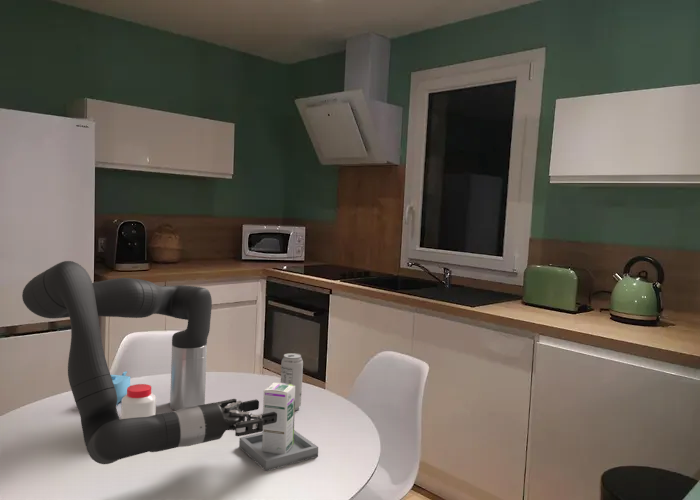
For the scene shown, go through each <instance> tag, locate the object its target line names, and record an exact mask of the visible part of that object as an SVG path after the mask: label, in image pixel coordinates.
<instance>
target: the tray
mask: <svg viewBox="0 0 700 500" xmlns="http://www.w3.org/2000/svg"><path fill="white" fill-rule="evenodd" d="M262 435H263V431H262V432H258V433H253V434H248V435H244V436H242V437H241V436H240V437H239V441H238V442H239V443H238V445H239V446H238V447H239V448H240V450H242V451H243V452H244V453H245V454H247V456H249V457H250V458H251V459H252V460H253V461H254V462H255V463H256V464H257V465H258V466H259V467H260V468H262V469H263V470H264V471H265V472H268V471H271V470H275V469H279V468H282V467H285V466H289V465H292V464H296V463H299V462H303V461H306V460H311V459H313V458H317V457H319V446H318V445H316V444H315V443H313V442H312V441H310V440H309V439H308V438H306V437H305V436H304V435H302V434H300V433H299V432H298V431H297V430H295V429H294V444H293V446H292V447H291V448H290V449H289V451H288V452H287V453H286V454H282V455H280V454H273V453H268V452H263V451H262Z"/></svg>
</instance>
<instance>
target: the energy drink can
mask: <svg viewBox="0 0 700 500" xmlns="http://www.w3.org/2000/svg"><path fill="white" fill-rule="evenodd" d="M303 366H304V361H303V358H302V354H300V353H297V352H296V353H294V352H293V353H291V352H290V353H284V354H283V358H282V359H281V365H280V383H287V384H292V385H295V411H297V410H299V409H300V407H301V405H302V395H303V394H302V392H303V391H302V388H303V375H304V374H303V371H304V369H303Z"/></svg>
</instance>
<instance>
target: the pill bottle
mask: <svg viewBox="0 0 700 500" xmlns="http://www.w3.org/2000/svg"><path fill="white" fill-rule="evenodd" d="M120 407H121V410H120V419H127V418H137V417H149V416H153V415H157V414H156V413H157V412H156V411H157V396H156V395H155V394H154V393H153V392H152V386H151V385H150V384H145V383H138V384H132V385H130V386H129V387H128V388H127V394H126V395H125V396H124V397H123V398H122V401H121V406H120Z"/></svg>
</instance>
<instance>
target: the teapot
mask: <svg viewBox="0 0 700 500" xmlns="http://www.w3.org/2000/svg"><path fill="white" fill-rule="evenodd" d="M127 373H128V371H123V372H122V374H121V375H120V374H110V375H111V378H112V381H113V384H114V387H115V390H116V393H117V404H116V405H117V406H118V405H119V403H120V402H122V398H123V397H124V396H125V395H126V394H127V388H128V387H129V386H131V376H128V375H127Z"/></svg>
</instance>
